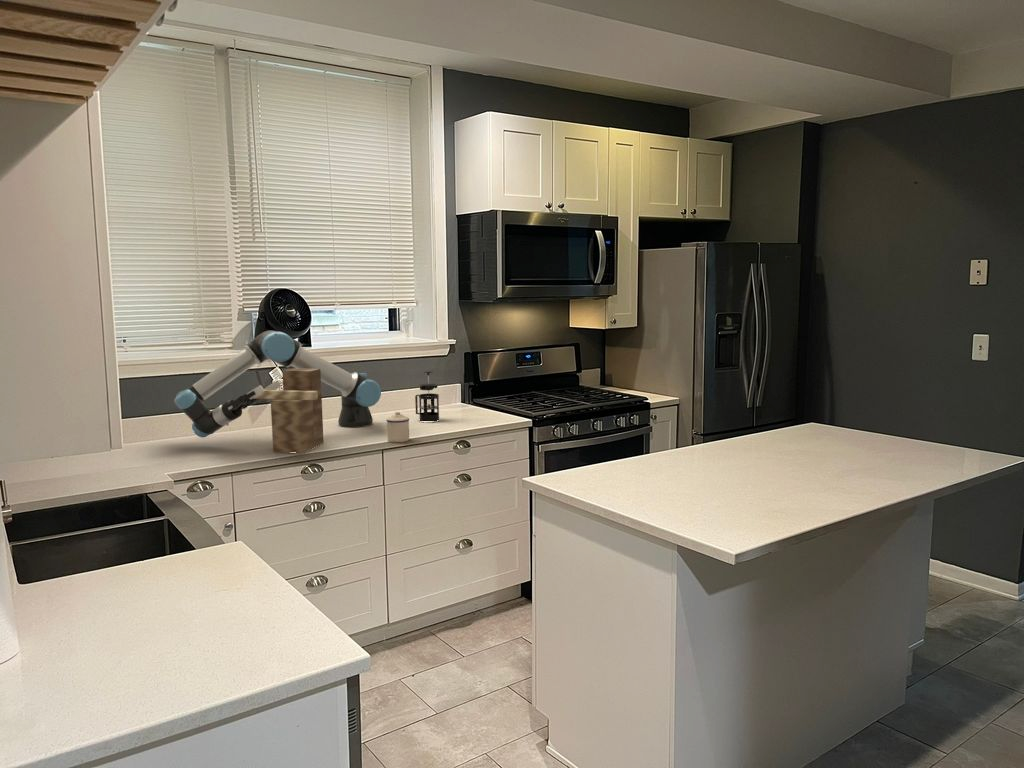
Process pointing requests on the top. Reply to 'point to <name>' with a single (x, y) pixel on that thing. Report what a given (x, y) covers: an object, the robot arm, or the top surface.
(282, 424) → the walnut shelf
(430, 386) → the french press
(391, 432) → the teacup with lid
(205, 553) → the top surface
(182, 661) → the top surface
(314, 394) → the beech rod
